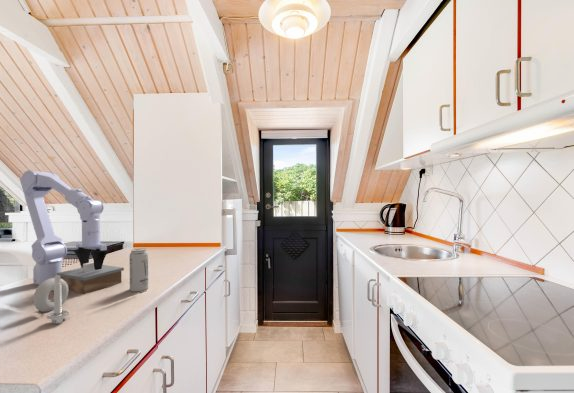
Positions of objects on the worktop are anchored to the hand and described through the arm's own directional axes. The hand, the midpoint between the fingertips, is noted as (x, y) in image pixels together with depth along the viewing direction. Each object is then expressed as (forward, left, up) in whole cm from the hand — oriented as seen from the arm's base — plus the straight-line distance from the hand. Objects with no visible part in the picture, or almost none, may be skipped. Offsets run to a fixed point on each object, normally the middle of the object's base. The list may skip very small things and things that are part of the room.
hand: (91, 268), depth 114 cm
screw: (+22, -24, -7) cm, 33 cm away
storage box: (0, 0, -7) cm, 7 cm away
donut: (+12, -20, -7) cm, 24 cm away
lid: (0, 0, -2) cm, 2 cm away
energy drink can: (+20, +4, -7) cm, 22 cm away
